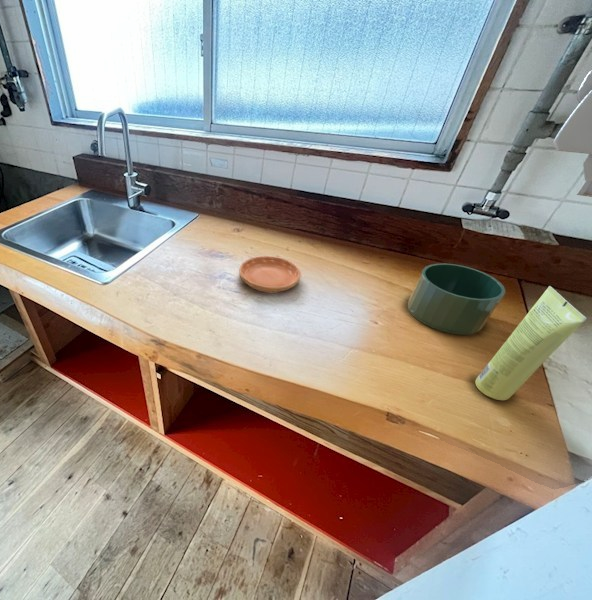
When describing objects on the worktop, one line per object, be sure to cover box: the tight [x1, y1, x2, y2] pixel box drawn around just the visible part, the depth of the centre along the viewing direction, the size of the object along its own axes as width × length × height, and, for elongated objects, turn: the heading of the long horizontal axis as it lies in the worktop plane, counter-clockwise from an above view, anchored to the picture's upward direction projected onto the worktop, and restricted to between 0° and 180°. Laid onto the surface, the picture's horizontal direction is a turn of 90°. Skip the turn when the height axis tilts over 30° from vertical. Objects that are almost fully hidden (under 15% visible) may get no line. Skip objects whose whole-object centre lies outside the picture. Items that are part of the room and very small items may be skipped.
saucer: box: [238, 255, 302, 294], centre depth 86 cm, size 16×16×3 cm
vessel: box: [407, 262, 506, 336], centre depth 70 cm, size 14×14×9 cm
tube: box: [474, 285, 587, 401], centre depth 50 cm, size 6×5×20 cm
